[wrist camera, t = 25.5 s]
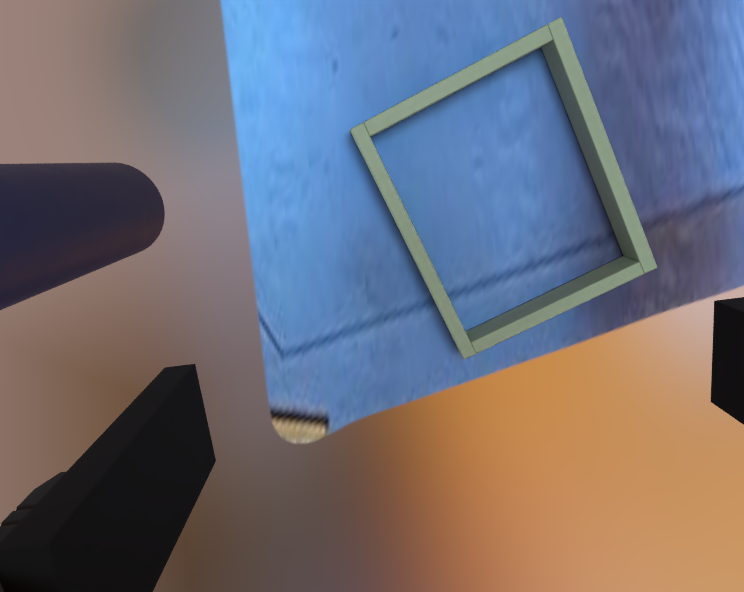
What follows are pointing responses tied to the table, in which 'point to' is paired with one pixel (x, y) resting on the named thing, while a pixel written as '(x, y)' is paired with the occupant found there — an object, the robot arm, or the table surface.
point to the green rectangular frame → (598, 161)
